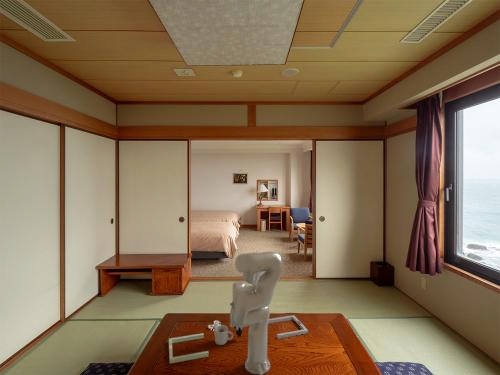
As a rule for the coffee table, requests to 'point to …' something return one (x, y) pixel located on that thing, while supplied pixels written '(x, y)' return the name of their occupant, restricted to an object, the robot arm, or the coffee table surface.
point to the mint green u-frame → (189, 356)
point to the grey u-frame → (293, 333)
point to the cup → (222, 334)
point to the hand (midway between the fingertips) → (238, 335)
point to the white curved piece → (216, 323)
